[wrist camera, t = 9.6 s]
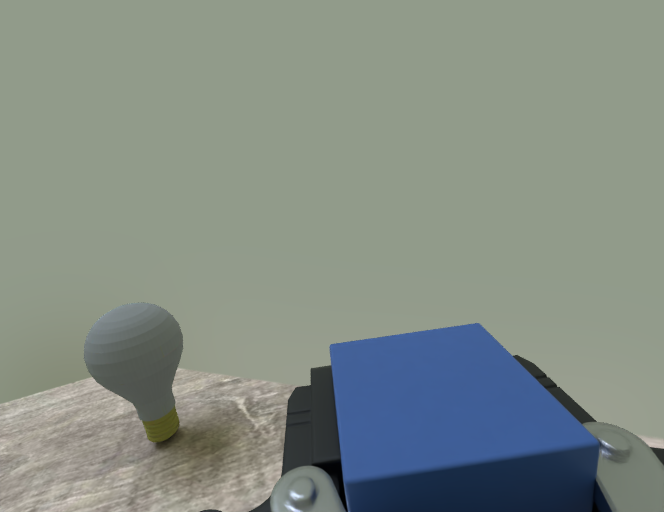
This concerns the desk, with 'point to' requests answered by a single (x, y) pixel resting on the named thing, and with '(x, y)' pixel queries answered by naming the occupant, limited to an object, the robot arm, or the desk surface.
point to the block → (454, 428)
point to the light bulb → (138, 362)
